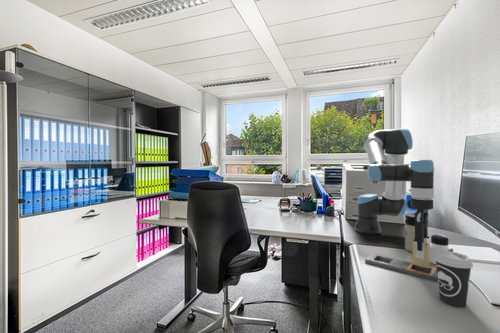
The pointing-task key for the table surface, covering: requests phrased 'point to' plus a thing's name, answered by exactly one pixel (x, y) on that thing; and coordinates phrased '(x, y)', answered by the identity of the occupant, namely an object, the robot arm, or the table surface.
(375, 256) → the rail
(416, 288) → the table surface
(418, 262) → the nut block
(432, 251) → the medicine bottle
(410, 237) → the travel mug
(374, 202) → the robot arm
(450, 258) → the coffee cup
